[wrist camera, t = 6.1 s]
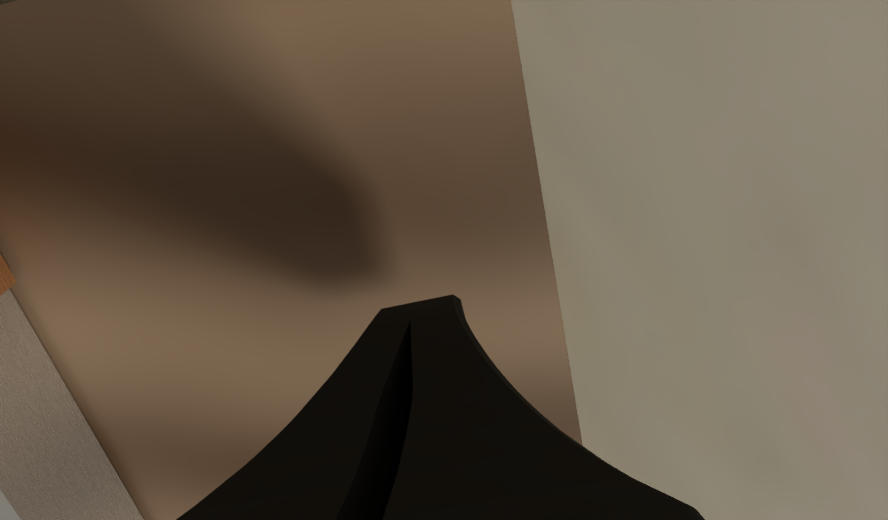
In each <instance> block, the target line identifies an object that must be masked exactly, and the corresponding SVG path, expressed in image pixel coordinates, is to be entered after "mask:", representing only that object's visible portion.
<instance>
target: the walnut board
mask: <svg viewBox="0 0 888 520" xmlns="http://www.w3.org/2000/svg"><path fill="white" fill-rule="evenodd" d="M0 254H1V256H2V257H3V259H4V261H5V262H6V264H7V266H8V268H9V269H10V271H11V273H12V275H13V276H14V278H15V280H16V283H15V284H14V285H13V286H11V287H10V288H9V289H10V291H11V292H12V294H13V296H14V297H15V299H16V301H17V303H18V304H19V306H20V308H21V309H22V311H23V313H24V315H25V316H26V318H27V320H28V321H29V323H30V325H31V327H32V328H33V330H34V332H35V334H36V335H37V337H38V339H39V340H40V342H41V344H42V346H43V347H44V349H45V351H46V352H47V354H48V356H49V358H50V359H51V361H52V363H53V364H54V366H55V368H56V370H57V371H58V373H59V375H60V376H61V378H62V380H63V382H64V383H65V385H66V387H67V389H68V390H69V392H70V394H71V395H72V397H73V399H74V401H75V402H76V404H77V406H78V407H79V409H80V411H81V413H82V414H83V416H84V418H85V419H86V421H87V423H88V425H89V426H90V428H91V430H92V432H93V433H94V435H95V437H96V438H97V440H98V442H99V444H100V445H101V447H102V449H103V450H104V452H105V454H106V456H107V457H108V459H109V461H110V462H111V464H112V466H113V468H114V469H115V471H116V473H117V475H118V476H119V478H120V480H121V481H122V483H123V485H124V487H125V488H126V490H127V492H128V493H129V495H130V497H131V499H132V500H133V502H134V504H135V505H136V507H137V509H138V511H139V512H140V514H141V516H142V518H143V519H144V520H176V519H177V518H179V517H180V516H182V515H183V514H184V513H186V512H187V511H188V510H190V509H191V508H192V507H194V506H195V505H196V504H198V503H199V502H200V501H201V500H203V499H204V498H205V497H206V496H207V495H209V494H210V493H211V492H212V491H214V490H215V489H216V488H217V487H219V486H220V485H221V484H222V483H224V482H225V481H226V480H227V479H228V478H230V477H231V476H232V475H233V474H235V473H236V472H237V471H238V470H240V469H241V468H242V467H243V466H244V465H246V464H247V463H248V462H249V461H250V460H251V459H252V458H253V457H254V456H256V455H257V454H258V453H259V452H260V451H261V450H262V449H263V448H264V447H265V446H266V445H267V444H268V443H269V442H270V441H271V440H273V439H274V438H275V437H276V436H277V435H278V434H279V433H280V432H281V431H282V430H283V429H284V428H285V427H286V426H287V425H288V424H289V423H290V422H291V420H292V419H293V418H294V417H295V416H296V415H297V414H298V413H299V412H300V411H301V410H302V408H303V407H304V406H305V405H306V404H307V403H308V401H309V400H310V399H311V398H312V397H313V396H314V394H315V393H316V392H317V391H318V390H319V389H320V387H321V386H322V385H323V384H324V383H325V382H326V381H327V379H328V378H329V377H330V376H331V375H332V373H333V372H334V371H335V370H336V368H337V367H338V366H339V364H340V363H341V362H342V360H343V359H344V358H345V356H346V355H347V354H348V353H349V351H350V350H351V349H352V347H353V346H354V345H355V343H356V342H357V341H358V339H359V338H360V336H361V335H362V334H363V332H364V331H365V330H366V328H367V327H368V325H369V324H370V323H371V321H372V320H373V319H374V317H375V316H376V315H377V313H378V312H379V311H380V310H381V309H383V308H388V307H393V306H398V305H402V304H407V303H412V302H417V301H422V300H427V299H432V298H437V297H442V296H447V295H452V294H453V295H455V296H456V297H458V298H460V299H461V302H462V306H463V310H464V314H465V318H466V321H467V323H468V325H469V327H470V329H471V331H472V332H473V334H474V336H475V337H476V339H477V340H478V342H479V343H480V345H481V346H482V348H483V349H484V351H485V352H486V353H487V355H488V356H489V358H490V359H491V360H492V362H493V363H494V364H495V366H496V367H497V368H498V369H499V370H500V372H501V373H502V374H503V375H504V376H505V378H506V379H507V380H508V381H509V382H510V383H511V384H512V385H513V387H514V388H515V389H516V390H517V391H518V392H519V393H520V394H521V395H522V396H523V397H524V398H525V399H526V400H527V401H528V402H529V403H530V404H531V405H532V406H533V407H534V408H535V409H537V410H538V411H539V412H540V413H541V414H542V415H543V416H544V417H546V418H547V419H548V420H549V421H550V422H551V423H553V424H554V425H555V426H556V427H557V428H559V429H560V430H561V431H562V432H564V433H565V434H566V435H568V436H569V437H571V438H572V439H573V440H575V441H576V442H578V443H579V444H581V445H582V440H581V433H580V427H579V421H578V415H577V409H576V402H575V396H574V390H573V384H572V378H571V371H570V365H569V359H568V353H567V347H566V341H565V334H564V328H563V322H562V316H561V310H560V303H559V297H558V291H557V285H556V279H555V272H554V266H553V260H552V254H551V248H550V241H549V235H548V229H547V223H546V217H545V210H544V204H543V198H542V192H541V186H540V179H539V173H538V167H537V161H536V155H535V148H534V142H533V136H532V130H531V124H530V117H529V111H528V105H527V99H526V93H525V86H524V80H523V74H522V68H521V62H520V55H519V49H518V43H517V37H516V31H515V24H514V18H513V12H512V6H511V0H15V1H11V2H7V3H3V4H0Z"/></svg>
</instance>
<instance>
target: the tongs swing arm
mask: <svg viewBox="0 0 888 520" xmlns="http://www.w3.org/2000/svg"><path fill="white" fill-rule="evenodd" d="M15 283H16V280H15V278H14V276H13V275H12V273H11V271H10V269H9V268H8V266H7V264H6V262H5V261H4V259H3V257H2V256H1V254H0V520H144V519H143V518H142V516H141V514H140V512H139V511H138V509H137V507H136V505H135V504H134V502H133V500H132V499H131V497H130V495H129V493H128V492H127V490H126V488H125V487H124V485H123V483H122V481H121V480H120V478H119V476H118V475H117V473H116V471H115V469H114V468H113V466H112V464H111V462H110V461H109V459H108V457H107V456H106V454H105V452H104V450H103V449H102V447H101V445H100V444H99V442H98V440H97V438H96V437H95V435H94V433H93V432H92V430H91V428H90V426H89V425H88V423H87V421H86V419H85V418H84V416H83V414H82V413H81V411H80V409H79V407H78V406H77V404H76V402H75V401H74V399H73V397H72V395H71V394H70V392H69V390H68V389H67V387H66V385H65V383H64V382H63V380H62V378H61V376H60V375H59V373H58V371H57V370H56V368H55V366H54V364H53V363H52V361H51V359H50V358H49V356H48V354H47V352H46V351H45V349H44V347H43V346H42V344H41V342H40V340H39V339H38V337H37V335H36V334H35V332H34V330H33V328H32V327H31V325H30V323H29V321H28V320H27V318H26V316H25V315H24V313H23V311H22V309H21V308H20V306H19V304H18V303H17V301H16V299H15V297H14V296H13V294H12V292H11V291H10V289H9V288H10V287H11V286H13V285H14V284H15Z"/></svg>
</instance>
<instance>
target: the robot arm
mask: <svg viewBox="0 0 888 520" xmlns="http://www.w3.org/2000/svg"><path fill="white" fill-rule="evenodd" d="M176 520H705V519H704V518H703V517H702V516H701V515H700V513H699V512H698V511H697V510H696V509H695V508H693V507H691V506H690V505H688V504H685V503H683V502H681V501H679V500H677V499H675V498H673V497H671V496H669V495H667V494H665V493H662V492H660V491H658V490H656V489H654V488H652V487H650V486H648V485H646V484H644V483H642V482H640V481H637V480H635V479H633V478H631V477H630V476H628V475H626V474H625V473H623V472H621V471H620V470H618V469H616V468H615V467H613V466H611V465H610V464H608V463H606V462H605V461H603V460H602V459H600V458H599V457H597V456H596V455H595V454H593V453H592V452H590V451H589V450H588V449H586V448H585V447H583V446H582V445H581V444H579V443H578V442H576V441H575V440H573V439H572V438H571V437H569V436H568V435H566V434H565V433H564V432H562V431H561V430H560V429H559V428H557V427H556V426H555V425H554V424H553V423H551V422H550V421H549V420H548V419H547V418H546V417H544V416H543V415H542V414H541V413H540V412H539V411H538V410H537V409H535V408H534V407H533V406H532V405H531V404H530V403H529V402H528V401H527V400H526V399H525V398H524V397H523V396H522V395H521V394H520V393H519V392H518V391H517V390H516V389H515V388H514V387H513V385H512V384H511V383H510V382H509V381H508V380H507V379H506V378H505V376H504V375H503V374H502V373H501V372H500V370H499V369H498V368H497V367H496V366H495V364H494V363H493V362H492V360H491V359H490V358H489V356H488V355H487V353H486V352H485V351H484V349H483V348H482V346H481V345H480V343H479V342H478V340H477V339H476V337H475V336H474V334H473V332H472V331H471V329H470V327H469V325H468V323H467V321H466V318H465V314H464V310H463V306H462V302H461V299H460V298H458V297H456V296H455V295H453V294H452V295H447V296H442V297H437V298H432V299H427V300H422V301H417V302H412V303H407V304H402V305H398V306H393V307H388V308H383V309H381V310H380V311H379V312H378V313H377V315H376V316H375V317H374V319H373V320H372V321H371V323H370V324H369V325H368V327H367V328H366V330H365V331H364V332H363V334H362V335H361V336H360V338H359V339H358V341H357V342H356V343H355V345H354V346H353V347H352V349H351V350H350V351H349V353H348V354H347V355H346V356H345V358H344V359H343V360H342V362H341V363H340V364H339V366H338V367H337V368H336V370H335V371H334V372H333V373H332V375H331V376H330V377H329V378H328V379H327V381H326V382H325V383H324V384H323V385H322V386H321V387H320V389H319V390H318V391H317V392H316V393H315V394H314V396H313V397H312V398H311V399H310V400H309V401H308V403H307V404H306V405H305V406H304V407H303V408H302V410H301V411H300V412H299V413H298V414H297V415H296V416H295V417H294V418H293V419H292V420H291V422H290V423H289V424H288V425H287V426H286V427H285V428H284V429H283V430H282V431H281V432H280V433H279V434H278V435H277V436H276V437H275V438H274V439H273V440H271V441H270V442H269V443H268V444H267V445H266V446H265V447H264V448H263V449H262V450H261V451H260V452H259V453H258V454H257V455H256V456H254V457H253V458H252V459H251V460H250V461H249V462H248V463H247V464H246V465H244V466H243V467H242V468H241V469H240V470H238V471H237V472H236V473H235V474H233V475H232V476H231V477H230V478H228V479H227V480H226V481H225V482H224V483H222V484H221V485H220V486H219V487H217V488H216V489H215V490H214V491H212V492H211V493H210V494H209V495H207V496H206V497H205V498H204V499H203V500H201V501H200V502H199V503H198V504H196V505H195V506H194V507H192V508H191V509H190V510H188V511H187V512H186V513H184V514H183V515H182V516H180V517H179V518H177V519H176Z"/></svg>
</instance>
